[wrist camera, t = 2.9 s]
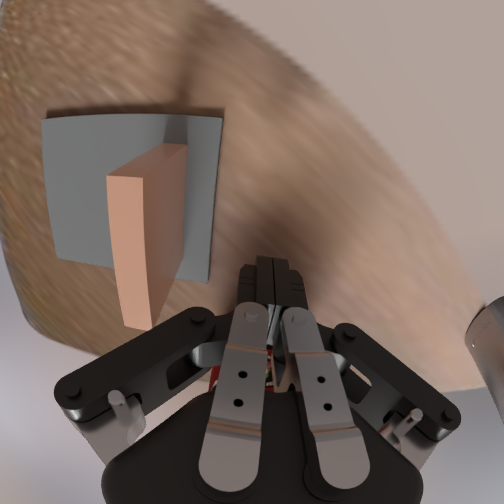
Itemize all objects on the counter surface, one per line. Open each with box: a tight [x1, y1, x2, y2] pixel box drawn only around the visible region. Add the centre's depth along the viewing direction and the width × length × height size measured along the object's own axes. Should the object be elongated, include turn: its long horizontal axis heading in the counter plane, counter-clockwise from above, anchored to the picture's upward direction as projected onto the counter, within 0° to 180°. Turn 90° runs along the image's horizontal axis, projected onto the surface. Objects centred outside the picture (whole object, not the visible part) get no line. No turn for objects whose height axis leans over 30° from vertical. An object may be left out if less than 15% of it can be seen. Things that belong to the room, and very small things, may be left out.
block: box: [106, 143, 188, 331], centre depth 17 cm, size 2×9×8 cm, turn 172°
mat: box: [42, 113, 224, 283], centre depth 21 cm, size 15×13×1 cm
